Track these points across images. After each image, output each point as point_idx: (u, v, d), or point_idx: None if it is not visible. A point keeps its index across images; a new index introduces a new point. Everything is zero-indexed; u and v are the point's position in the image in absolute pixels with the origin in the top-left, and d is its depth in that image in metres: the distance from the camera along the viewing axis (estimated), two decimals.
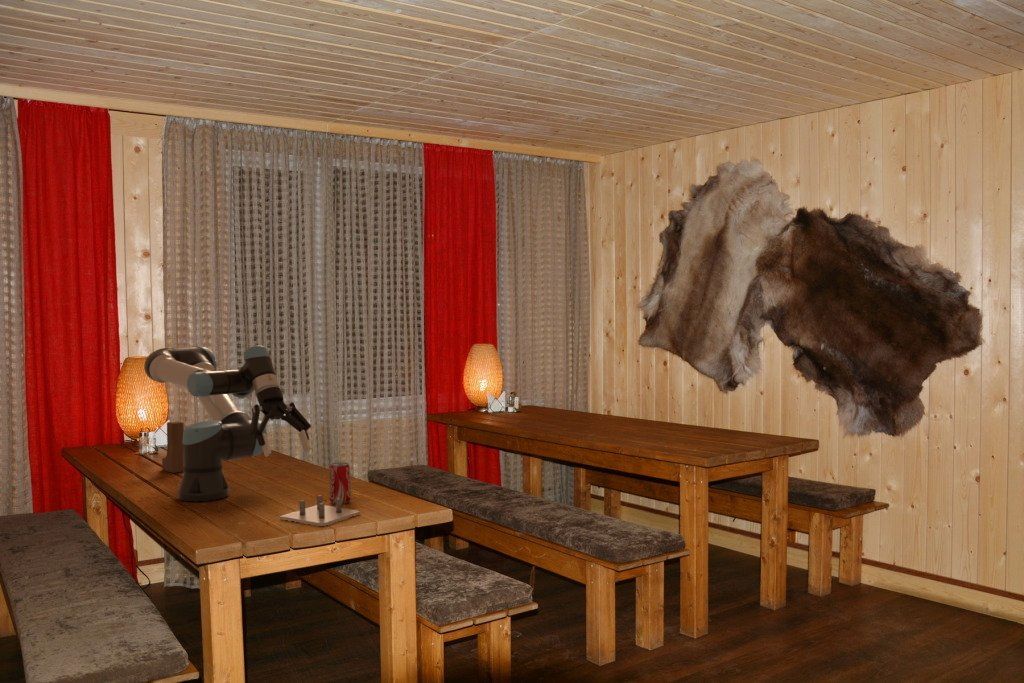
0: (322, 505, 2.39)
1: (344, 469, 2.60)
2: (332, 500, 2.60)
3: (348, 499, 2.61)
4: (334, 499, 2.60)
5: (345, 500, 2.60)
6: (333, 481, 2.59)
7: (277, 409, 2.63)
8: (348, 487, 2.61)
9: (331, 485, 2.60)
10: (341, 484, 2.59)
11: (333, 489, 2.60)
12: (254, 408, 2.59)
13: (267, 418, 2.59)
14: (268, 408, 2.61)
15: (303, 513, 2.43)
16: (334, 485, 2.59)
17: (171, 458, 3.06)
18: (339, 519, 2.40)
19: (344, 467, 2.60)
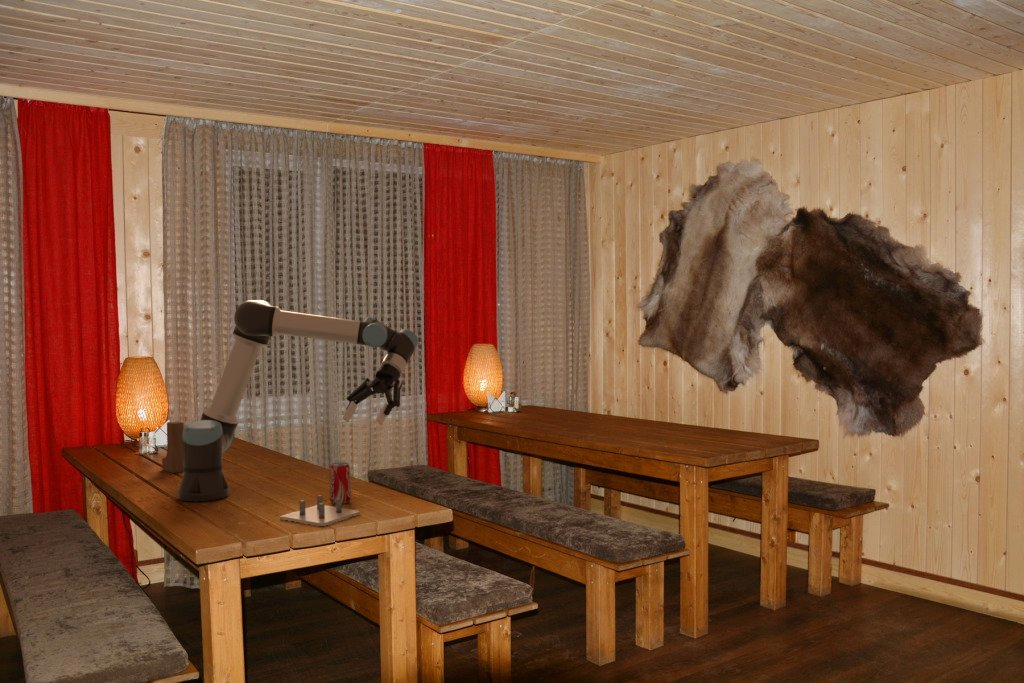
0: (322, 505, 2.39)
1: (344, 469, 2.60)
2: (332, 500, 2.60)
3: (348, 499, 2.61)
4: (334, 499, 2.60)
5: (345, 500, 2.60)
6: (333, 481, 2.59)
7: None
8: (348, 487, 2.61)
9: (331, 485, 2.60)
10: (341, 484, 2.59)
11: (333, 489, 2.60)
12: (400, 385, 2.76)
13: None
14: None
15: (303, 513, 2.43)
16: (334, 485, 2.59)
17: (171, 458, 3.06)
18: (339, 519, 2.40)
19: (344, 467, 2.60)
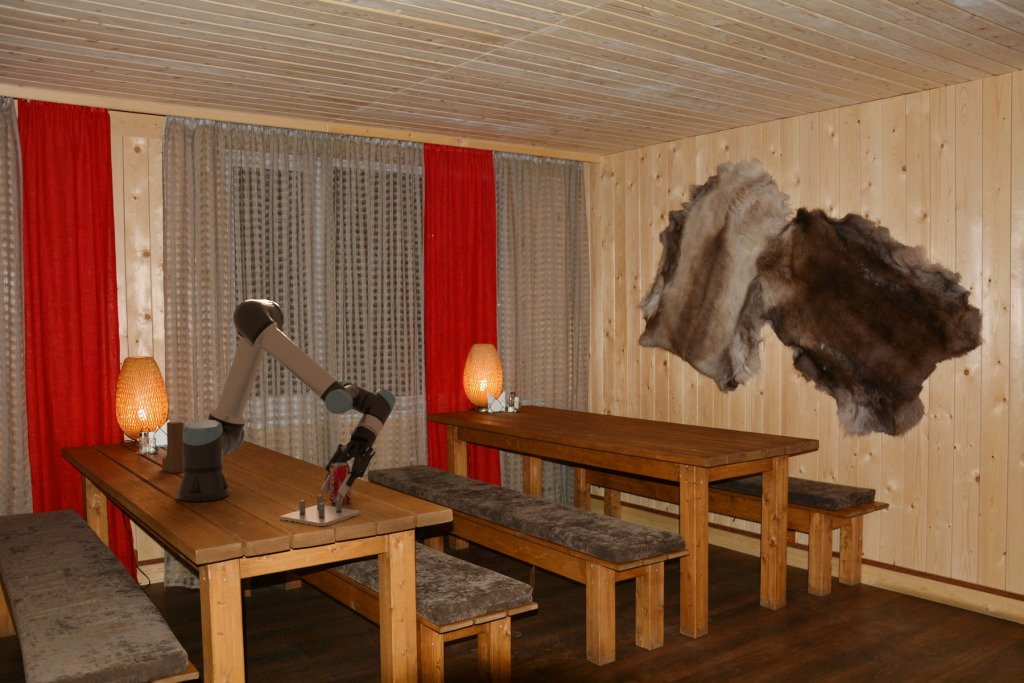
0: (322, 505, 2.39)
1: (344, 469, 2.60)
2: (332, 500, 2.60)
3: (348, 499, 2.61)
4: (334, 499, 2.60)
5: (345, 500, 2.60)
6: (333, 481, 2.59)
7: None
8: None
9: (331, 485, 2.60)
10: (340, 484, 2.59)
11: (333, 489, 2.60)
12: (373, 453, 2.66)
13: None
14: None
15: (303, 513, 2.43)
16: (333, 485, 2.59)
17: (171, 458, 3.06)
18: (339, 519, 2.40)
19: (343, 466, 2.60)
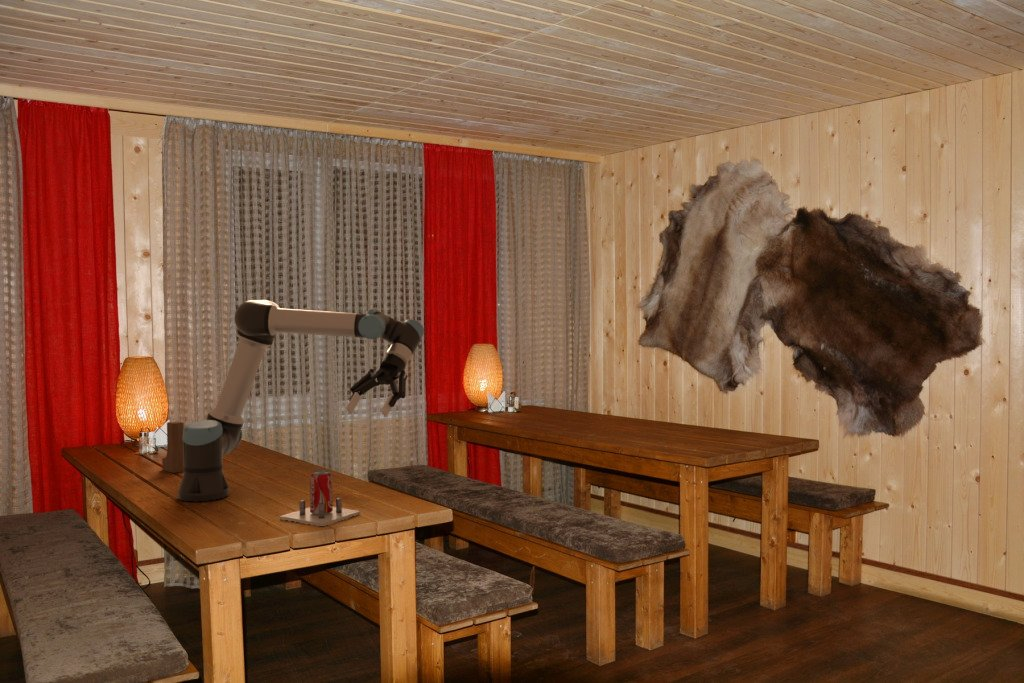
0: (322, 505, 2.39)
1: (325, 478, 2.42)
2: (312, 511, 2.42)
3: (330, 510, 2.43)
4: (314, 510, 2.42)
5: (326, 511, 2.42)
6: (313, 491, 2.42)
7: None
8: (330, 497, 2.43)
9: (311, 495, 2.42)
10: (321, 494, 2.41)
11: (313, 499, 2.42)
12: (406, 376, 2.67)
13: None
14: None
15: (303, 513, 2.43)
16: (314, 495, 2.42)
17: (171, 458, 3.06)
18: (339, 519, 2.40)
19: (325, 475, 2.42)
